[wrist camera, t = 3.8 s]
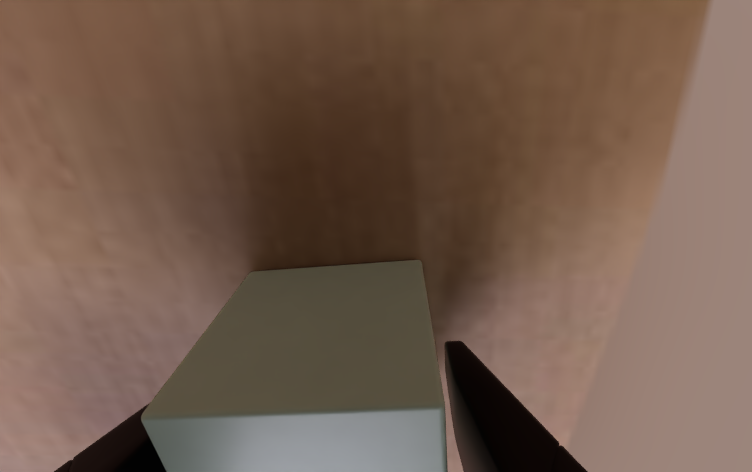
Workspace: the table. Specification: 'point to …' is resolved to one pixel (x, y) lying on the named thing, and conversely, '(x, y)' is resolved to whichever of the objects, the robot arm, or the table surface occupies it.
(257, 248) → the table surface
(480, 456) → the robot arm
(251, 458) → the block
